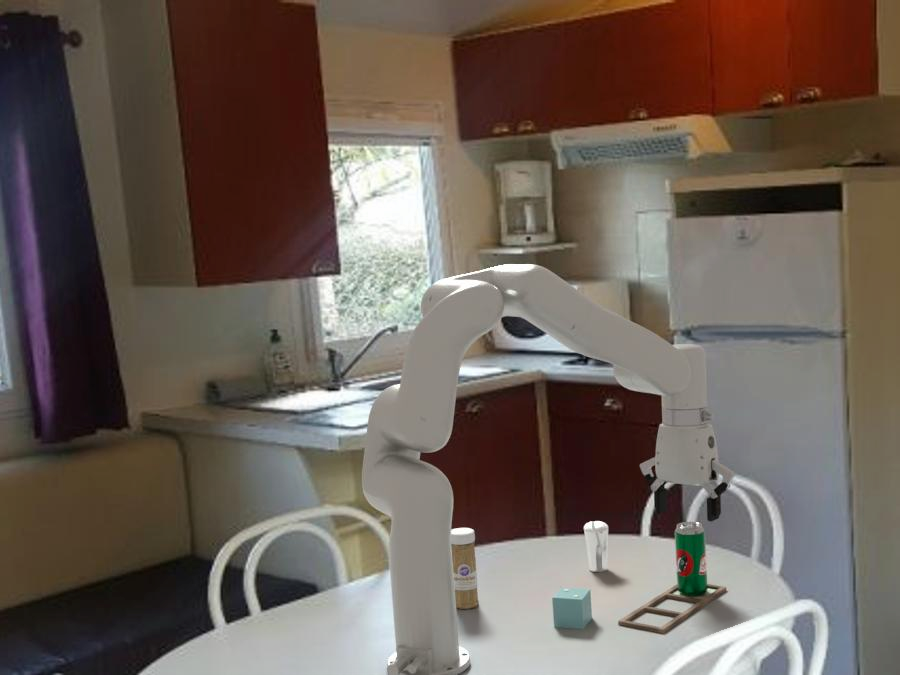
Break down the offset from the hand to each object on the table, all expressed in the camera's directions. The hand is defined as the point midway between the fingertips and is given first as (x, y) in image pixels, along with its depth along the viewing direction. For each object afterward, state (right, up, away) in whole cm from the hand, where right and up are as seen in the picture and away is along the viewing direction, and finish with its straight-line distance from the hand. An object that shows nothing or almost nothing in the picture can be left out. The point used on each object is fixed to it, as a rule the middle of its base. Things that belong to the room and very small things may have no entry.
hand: (687, 516), depth 191 cm
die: (-20, -16, -7) cm, 27 cm away
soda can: (+1, -14, +2) cm, 14 cm away
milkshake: (-13, -13, +18) cm, 26 cm away
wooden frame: (-3, -15, -4) cm, 15 cm away
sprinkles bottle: (-38, -17, +4) cm, 41 cm away
